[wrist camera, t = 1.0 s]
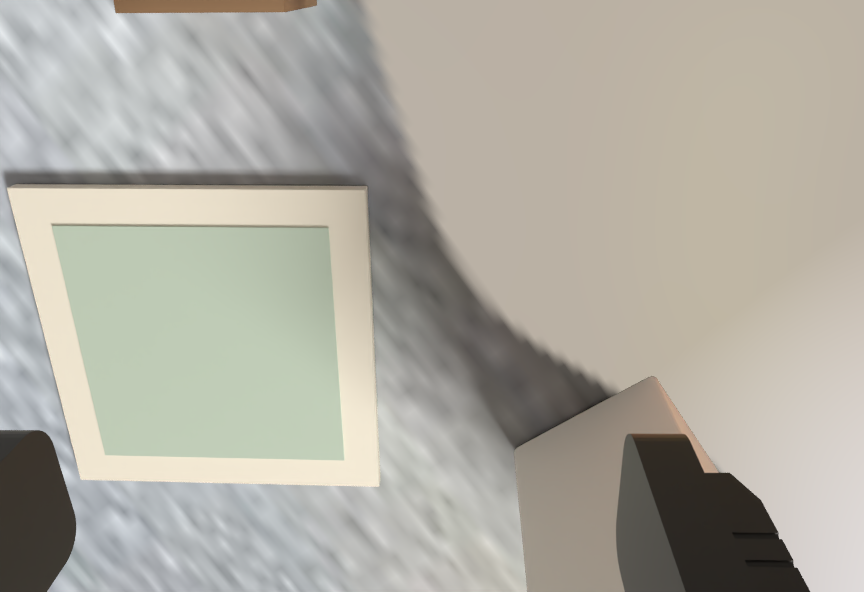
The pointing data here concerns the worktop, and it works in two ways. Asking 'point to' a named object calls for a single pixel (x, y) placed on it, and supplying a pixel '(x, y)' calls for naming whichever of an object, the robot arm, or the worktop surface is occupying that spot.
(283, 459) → the coaster
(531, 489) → the milk carton
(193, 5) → the walnut block
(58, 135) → the worktop surface
